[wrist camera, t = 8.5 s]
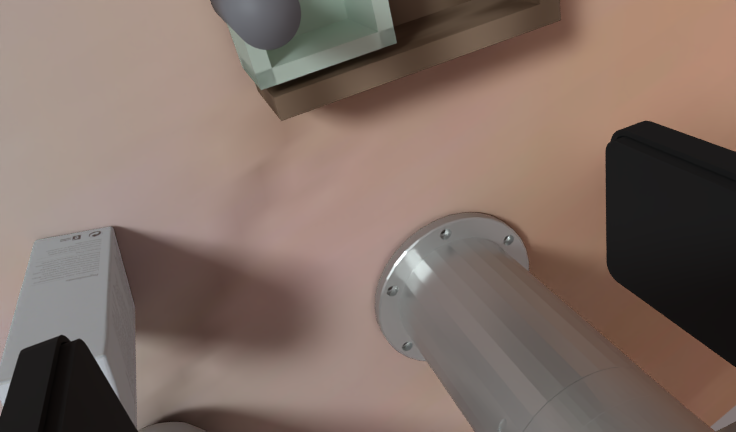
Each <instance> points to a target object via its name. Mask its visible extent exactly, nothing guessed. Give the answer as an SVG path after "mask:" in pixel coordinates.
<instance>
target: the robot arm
mask: <svg viewBox="0 0 736 432" xmlns="http://www.w3.org/2000/svg"><path fill="white" fill-rule="evenodd" d="M606 244H607V267H608V270H609V272H610V274H611V275H612V277H613V278H614V279H615V280H616V281H617V282H618V283H620V284H621V285H622V286H624V287H625V288H627V289H628V290H629V291H631V292H632V293H634V294H635V295H636V296H638V297H639V298H640V299H642V300H643V301H645V302H646V303H647V304H649V305H650V306H652V307H653V308H654V309H656V310H657V311H658V312H660V313H661V314H663V315H664V316H665V317H667V318H668V319H670V320H671V321H672V322H674V323H675V324H677V325H678V326H679V327H681V328H682V329H683V330H685V331H686V332H688V333H689V334H690V335H692V336H693V337H695V338H696V339H697V340H699V341H700V342H701V343H703V344H704V345H706V346H707V347H708V348H710V349H711V350H713V351H714V352H715V353H717V354H718V355H719V356H721V357H722V358H724V359H725V360H726V361H728V362H729V363H731V364H732V365H733V366H735V367H736V152H734V151H732V150H729V149H726V148H723V147H720V146H718V145H715V144H712V143H709V142H706V141H704V140H701V139H698V138H695V137H693V136H690V135H687V134H684V133H681V132H679V131H676V130H673V129H670V128H667V127H665V126H662V125H659V124H656V123H653V122H650V121H643V122H640V123H637V124H634V125H632V126H629V127H626V128H624V129H621V130H618V131H616V132H615V133H614V134H613V136H612V138H611V142H609V143H608V145H607V147H606ZM375 313H376V319H377V323H378V325H379V327H380V329H381V332H382V333H383V335H384V336H385V338H386V339H387V341H388V342H389V344H390V345H391V346H392V347H393V348H394V349H395V350H396V351H398V352H399V353H401V354H403V355H405V356H406V357H409V358H412V359H416V360H419V361H427V363H428V364H429V366H430V367H431V368H432V370H433V371H434V373H435V374H436V376H437V377H438V379H439V380H440V382H441V383H442V385H443V386H444V387H445V389H446V390H447V392H448V393H449V395H450V396H451V398H452V399H453V401H454V402H455V403H456V405H457V406H458V408H459V409H460V411H461V412H462V414H463V415H464V417H465V418H466V420H467V421H468V422H469V424H470V425H471V427H472V428H473V430H474V431H475V432H715V431H714V430H713V429H712V428H710V427H709V426H708V425H707V424H705V423H704V422H703V421H702V420H701V419H699V418H698V417H697V416H696V415H695V414H693V413H692V412H691V411H690V410H689V409H687V408H686V407H685V406H684V405H683V404H681V403H680V402H679V401H678V400H677V399H676V398H674V397H673V396H672V395H671V394H670V393H669V392H667V391H666V390H665V389H664V388H663V387H662V386H660V385H659V384H658V383H657V382H656V381H655V380H654V379H652V378H651V377H650V376H649V375H648V374H646V373H645V372H644V371H643V370H642V369H641V368H640V367H638V366H637V365H636V364H635V363H634V362H633V361H632V360H630V359H629V358H628V357H627V356H626V355H625V354H624V353H622V352H621V351H620V350H619V349H618V348H617V347H616V346H614V345H613V344H612V343H611V342H610V341H609V340H607V339H606V338H605V337H604V336H603V335H602V334H600V333H599V332H598V331H597V330H596V329H595V328H594V327H592V326H591V325H590V324H589V323H588V322H587V321H585V320H584V319H583V318H582V317H581V316H580V315H579V314H577V313H576V312H575V311H574V310H573V309H572V308H570V307H569V306H568V305H567V304H566V303H565V302H563V301H562V300H561V299H560V298H559V297H558V296H557V295H555V294H554V293H553V292H552V291H551V290H550V289H548V288H547V287H546V286H545V285H544V284H543V283H541V282H540V281H539V280H538V279H537V278H536V277H535V276H533V275H532V274H531V273H530V272H529V259H528V255H527V250H526V248H525V245H524V243H523V241H522V239H521V238H520V237H519V236H518V234H517V233H516V232H515V231H514V230H513V229H512V228H511V227H509V226H508V225H507V224H505V223H504V222H503V221H501V220H499V219H497V218H495V217H493V216H490V215H486V214H482V213H460V214H454V215H449V216H447V217H444V218H441V219H439V220H436V221H434V222H432V223H430V224H428V225H427V226H425V227H423V228H421V229H420V230H418V231H417V232H416V233H415V234H413V235H412V236H411V237H410V238H408V239H407V240H406V241H405V242H404V243H403V244H402V245H401V246H400V247H399V248H398V250H397V251H396V252H395V253H394V254H393V256H392V257H391V259H390V260H389V262H388V263H387V265H386V266H385V269H384V271H383V273H382V275H381V277H380V279H379V283H378V286H377V290H376V294H375ZM0 432H138V431H137V429H136V427H135V426H134V424H133V422H132V420H131V419H130V417H129V415H128V414H127V412H126V410H125V409H124V407H123V405H122V404H121V402H120V400H119V399H118V397H117V395H116V394H115V392H114V390H113V388H112V387H111V385H110V383H109V382H108V380H107V378H106V377H105V375H104V373H103V372H102V370H101V368H100V367H99V365H98V363H97V361H96V360H95V358H94V356H93V355H92V353H91V351H90V350H89V348H88V346H87V345H86V343H85V342H84V341H83V340H82V339H76V340H74V341H70V340H69V339H68V338H67V337H66V336H64V335H59V336H57V337H54V338H51V339H49V340H46V341H43V342H40V343H38V344H35V345H32V346H30V347H27V348H24V349H22V350H21V351H20V353H19V356H18V359H17V362H16V366H15V369H14V373H13V376H12V379H11V383H10V386H9V389H8V393H7V396H6V399H5V403H4V406H3V409H2V413H1V416H0ZM716 432H736V422H734V423H732V424H730V425H728V426H727V427H724V428H722V429H720V430H718V431H716Z"/></svg>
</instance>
